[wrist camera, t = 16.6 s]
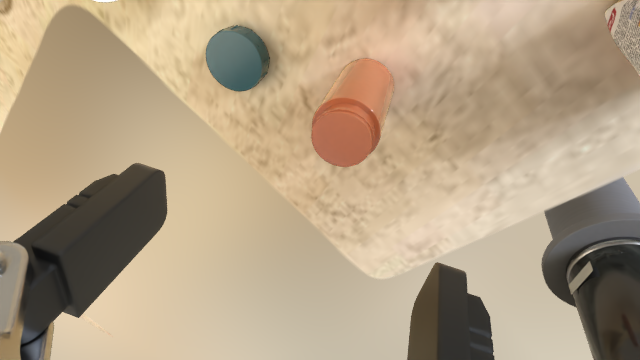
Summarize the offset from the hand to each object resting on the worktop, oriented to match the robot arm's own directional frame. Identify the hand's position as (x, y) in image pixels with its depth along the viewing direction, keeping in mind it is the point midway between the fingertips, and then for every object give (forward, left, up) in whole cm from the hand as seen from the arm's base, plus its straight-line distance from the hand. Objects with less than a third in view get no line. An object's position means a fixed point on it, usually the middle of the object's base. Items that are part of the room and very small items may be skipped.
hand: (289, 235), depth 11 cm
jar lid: (+8, +13, -25) cm, 29 cm away
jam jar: (-3, +6, -27) cm, 28 cm away
